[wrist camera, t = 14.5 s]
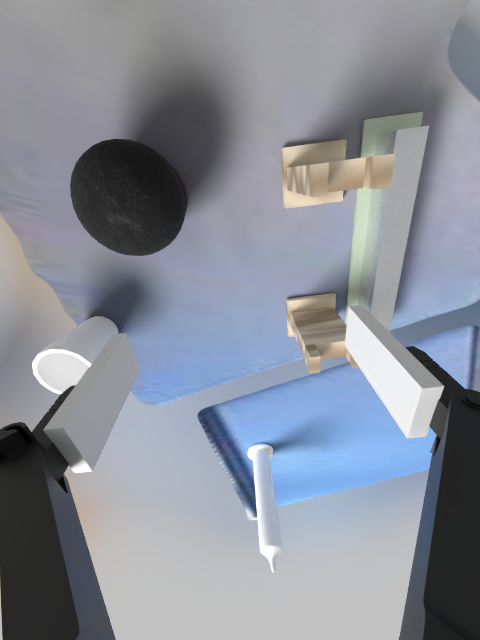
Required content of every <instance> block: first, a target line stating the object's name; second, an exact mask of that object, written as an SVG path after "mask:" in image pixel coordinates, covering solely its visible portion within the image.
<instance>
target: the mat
mask: <svg viewBox="0 0 480 640" xmlns="http://www.w3.org/2000/svg"><path fill="white" fill-rule="evenodd" d="M423 112H424V111H423ZM423 112H416V113H409V114H401V115H394V116H387V117H380V118H372V119H365V120H363V128H362V139H361V150H360V158H364V157H371V156H375V150H376V141H377V135H380V134H383V133H387V132H391V131H395V130H400V129H407V128H414V127H421V123H422V117H423ZM370 194H371V189H367V188H360V189H357V194H356V205H355V216H354V227H353V238H352V249H351V260H350V271H349V281H348V292H347V303H346V314H345V324H346V325H347V317H348V307H349V306H356V305H358V298H359V289H360V281H361V272H362V263H363V255H364V246H365V237H366V228H367V220H368V211H369V202H370Z"/></svg>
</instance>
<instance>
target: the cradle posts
mask: <svg viewBox="0 0 480 640" xmlns="http://www.w3.org/2000/svg"><path fill="white" fill-rule="evenodd" d="M346 144H347V139H344V140H336V141H329V142H322V143H314V144H307V145H300V146H292V147H285V148H282V174H283V205H284V208H293V207H301V206H309V205H316V204H324V203H332V202H339V201H343V191H344V190H352V189H360V188H367V189H382V188H390V186H391V180H392V173H393V166H394V159H395V154H387V155H379V156H371V157H364V158H356V159H348V160H345V159H346ZM335 304H336V294H335V293H330V294H322V295H314V296H305V297H297V298H289V299H287V327H288V336H289V337H292V336H295V337H296V340H297V342H298V345H299V347H300V350H301V352H302V355H303V357H304V360H305V362H306V365H307V367H308V370H309V372H310V373H318V372H320V361H321V359H325V358H335V357H343V356H346V357H347V359H348V360H349V362H350V363H351V365H352V367H353V368H360V367H359V366H358V364H357V363H356V361H355V360H354V358H353V357H352V355H351V354H350V353H349V351H348V350H347V348H346V347H345V338H346V328H347V325H346V324H345V323H344V322H343V320H342V319H341V318H340V316H339V315H338V314H337V312H336V311H335Z"/></svg>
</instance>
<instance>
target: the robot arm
mask: <svg viewBox="0 0 480 640" xmlns="http://www.w3.org/2000/svg"><path fill="white" fill-rule="evenodd" d="M345 347H346V348H347V350H348V351H349V353H350V354H351V355H352V357H353V358H354V360H355V361H356V363H357V364H358V366H359V367H360V369H361V370H362V372H363V373H364V375H365V376H366V378H367V379H368V381H369V382H370V384H371V385H372V387H373V388H374V390H375V391H376V393H377V394H378V396H379V397H380V399H381V400H382V402H383V403H384V405H385V406H386V408H387V409H388V411H389V412H390V414H391V415H392V417H393V418H394V420H395V421H396V423H397V424H398V426H399V427H400V428H401V430H402V431H403V433H404V434H405V436H406V437H407V439H408V438H418V437H426V436H427V433H428V431H429V428H430V427H431V428H432V430H433V431H434V432H435V433H436V435H437V436H436V438H435V441H434V443H433V446H432V449H431V451H430V452H431V453H432V458H431V464H430V470H429V475H428V481H427V486H426V493H425V498H424V504H423V509H422V515H421V520H420V526H419V532H418V537H417V543H416V548H415V554H414V559H413V565H412V571H411V576H410V582H409V587H408V593H407V599H406V604H405V610H404V616H403V621H402V627H401V632H400V637H399V640H480V392H477V391H474V390H469V389H464V388H463V387H462V386H461V385H460V384H459V383H458V382H457V381H456V380H455V379H453V378H452V377H451V376H450V375H449V374H448V373H447V372H446V371H445V370H444V369H443V368H441V367H439V365H438V364H437V363H436V362H435V361H433V359H432V358H430V357H429V356H428V355H427V354H426V353H425V352H423V351H421V350H419V349H418V348H416V347H414V346H411V347H404V346H403V345H402V344H401V343H400V342H399V341H398V340H397V339H396V338H395V337H394V336H393V335H392V334H391V333H390V332H389V331H388V330H387V329H386V328H385V327H384V326H383V325H382V324H381V323H380V322H379V321H378V320H377V319H376V318H375V317H374V316H373V315H372V314H371V313H370V312H369V311H368V310H367V309H366V308H365V307H364V306H363V305H356V306H349V307H348V317H347V328H346V338H345ZM139 370H140V368H139V365H138V363H137V360H136V358H135V355H134V353H133V350H132V347H131V345H130V342H129V340H128V337H127V335H126V333H121V334H113V335H112V337H111V338H110V339H109V341H108V342H107V343H106V345H105V346H104V348H103V349H102V350H101V352H100V353H99V354H98V356H97V357H96V358H95V360H94V361H93V363H92V364H91V365H90V367H89V368H88V369H87V371H86V372H85V374H84V375H83V376H82V378H81V379H80V380H79V382H78V383H77V384H76V385H74V386H70V387H69V388H68V389H67V390H65V391H64V392H63V393H62V394H61V395H60V396H59V398H58V399H57V400H56V401H55V404H53V406H52V407H51V408H50V409H49V412H47V413H46V414H45V416H44V417H43V418H42V420H41V421H40V422H39V424H38V425H37V426H36V427H35V429H34V430H33V432H31V431H30V430H29V428H28V427H27V426H26V424H25V423H21V422H18V423H13V424H10V425H8V426H5V427H3V428H2V429H0V585H1V610H2V635H3V640H115V636H114V633H113V629H112V626H111V623H110V619H109V616H108V613H107V609H106V606H105V603H104V600H103V596H102V593H101V590H100V586H99V583H98V580H97V576H96V573H95V570H94V566H93V563H92V560H91V556H90V553H89V550H88V547H87V543H86V540H85V536H84V533H83V530H82V527H81V524H80V520H79V517H78V513H77V510H76V507H75V503H74V500H73V497H72V493H71V491H70V487H69V483H68V480H67V478H66V477H65V475H64V472H65V470H66V469H67V467H68V465H69V466H70V467H71V469H72V470H73V471H74V473H81V472H91V471H93V469H94V467H95V465H96V463H97V460H98V458H99V456H100V454H101V452H102V450H103V447H104V445H105V443H106V441H107V439H108V437H109V435H110V432H111V430H112V428H113V426H114V423H115V422H116V419H117V417H118V415H119V413H120V411H121V409H122V406H123V404H124V402H125V400H126V398H127V396H128V394H129V391H130V389H131V387H132V385H133V383H134V381H135V378H136V376H137V374H138V372H139Z"/></svg>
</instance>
